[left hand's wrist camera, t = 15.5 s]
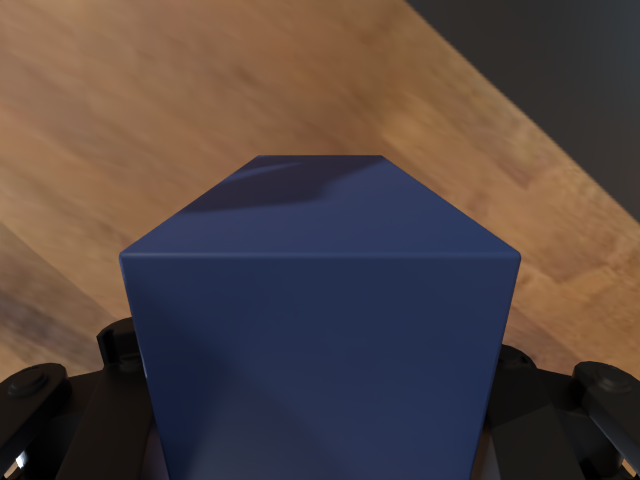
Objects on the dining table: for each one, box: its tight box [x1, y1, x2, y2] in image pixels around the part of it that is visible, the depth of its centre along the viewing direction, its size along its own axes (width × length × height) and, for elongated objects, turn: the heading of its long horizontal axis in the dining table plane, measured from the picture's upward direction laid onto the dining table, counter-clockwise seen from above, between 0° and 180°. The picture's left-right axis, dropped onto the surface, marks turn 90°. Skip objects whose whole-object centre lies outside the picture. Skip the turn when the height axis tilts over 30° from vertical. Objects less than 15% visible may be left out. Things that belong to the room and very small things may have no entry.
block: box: [119, 155, 521, 480], centre depth 11 cm, size 6×9×11 cm, turn 0°
